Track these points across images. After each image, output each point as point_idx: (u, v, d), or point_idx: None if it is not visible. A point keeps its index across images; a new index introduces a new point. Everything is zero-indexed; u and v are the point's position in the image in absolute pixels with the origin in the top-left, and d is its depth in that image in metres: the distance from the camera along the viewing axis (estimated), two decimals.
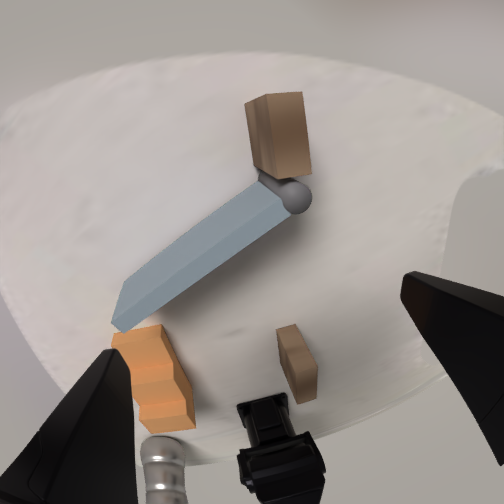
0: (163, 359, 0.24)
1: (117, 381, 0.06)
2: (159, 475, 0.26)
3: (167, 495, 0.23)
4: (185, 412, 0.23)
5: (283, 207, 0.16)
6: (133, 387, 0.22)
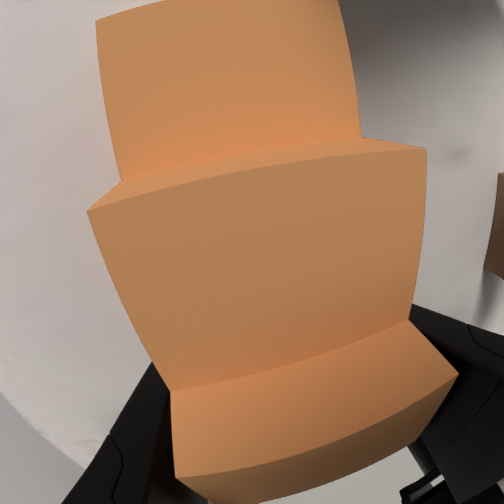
0: (329, 108, 0.05)
1: None
2: None
3: None
4: (447, 368, 0.04)
5: None
6: (152, 225, 0.03)
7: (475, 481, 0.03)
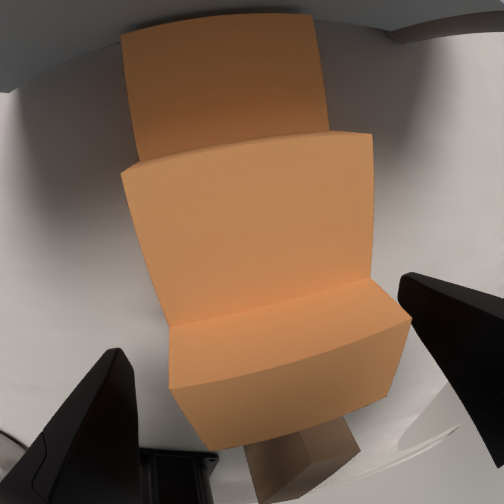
0: (302, 107, 0.06)
1: (121, 381, 0.06)
2: None
3: None
4: (402, 313, 0.05)
5: None
6: (166, 184, 0.05)
7: None
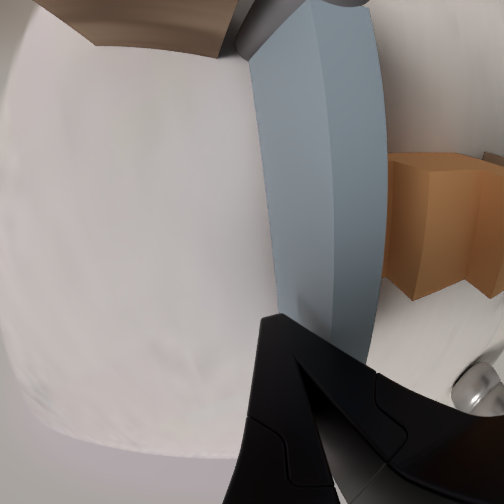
0: None
1: None
2: (487, 414, 0.17)
3: None
4: None
5: (339, 7, 0.03)
6: (423, 281, 0.09)
7: None
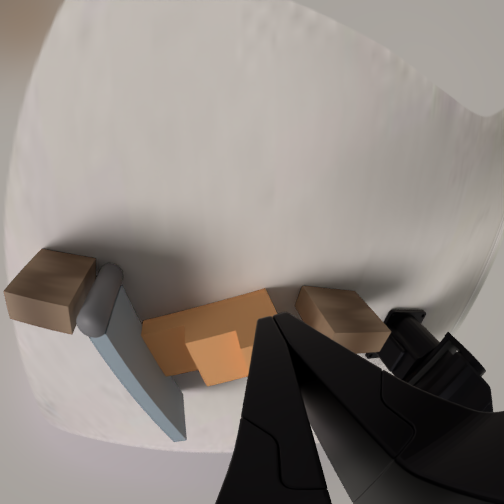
0: (178, 334, 0.20)
1: None
2: None
3: None
4: (240, 347, 0.17)
5: (97, 338, 0.13)
6: (209, 379, 0.20)
7: None
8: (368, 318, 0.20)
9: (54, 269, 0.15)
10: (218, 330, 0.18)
